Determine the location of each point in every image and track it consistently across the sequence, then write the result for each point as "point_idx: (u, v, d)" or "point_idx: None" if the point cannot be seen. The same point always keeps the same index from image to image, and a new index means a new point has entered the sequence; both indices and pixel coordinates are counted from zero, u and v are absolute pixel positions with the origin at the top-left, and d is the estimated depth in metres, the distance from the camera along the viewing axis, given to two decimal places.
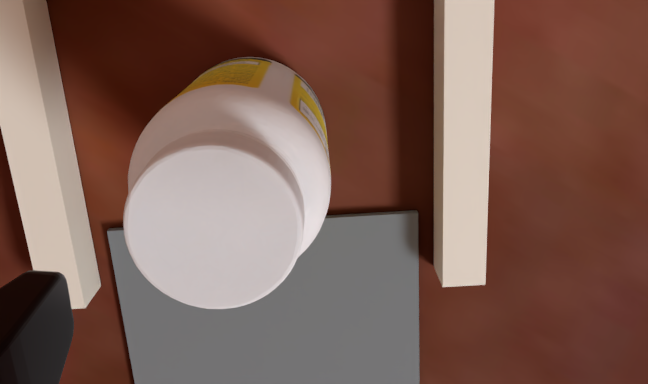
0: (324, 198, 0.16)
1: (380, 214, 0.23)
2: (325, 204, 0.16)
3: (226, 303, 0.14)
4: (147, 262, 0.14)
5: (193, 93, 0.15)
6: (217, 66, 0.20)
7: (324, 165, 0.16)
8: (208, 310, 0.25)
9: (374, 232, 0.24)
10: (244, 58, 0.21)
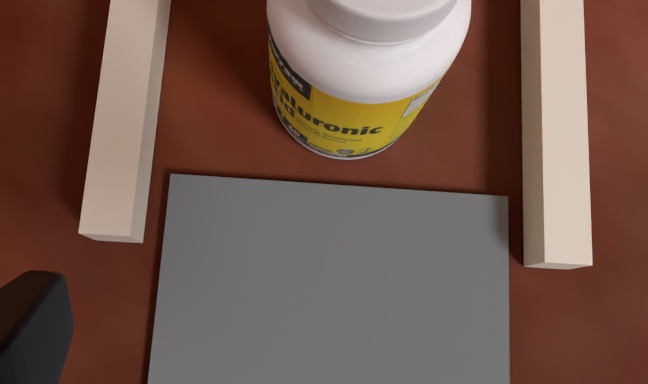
0: (468, 11, 0.16)
1: (468, 194, 0.22)
2: (467, 19, 0.16)
3: (390, 8, 0.13)
4: None
5: None
6: None
7: None
8: (262, 286, 0.21)
9: (460, 213, 0.22)
10: None
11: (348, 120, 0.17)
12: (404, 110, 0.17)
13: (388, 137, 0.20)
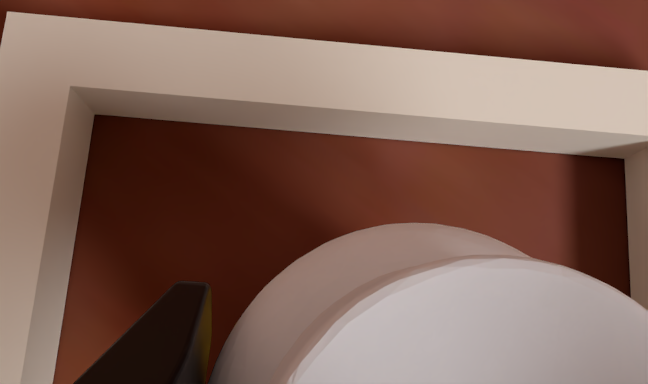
0: None
1: None
2: None
3: None
4: None
5: (381, 226, 0.08)
6: None
7: None
8: None
9: None
10: None
11: None
12: None
13: None
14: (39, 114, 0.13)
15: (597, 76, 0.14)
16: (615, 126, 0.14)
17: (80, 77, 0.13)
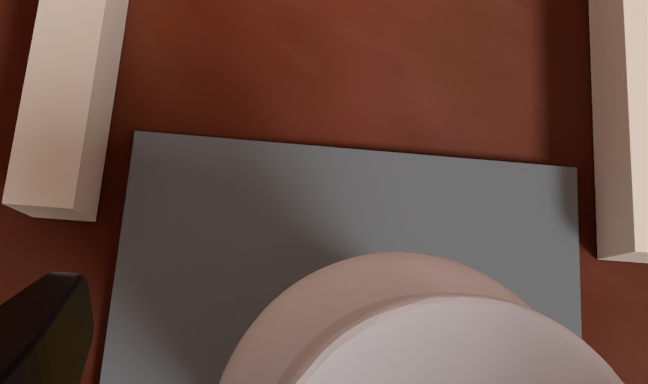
0: None
1: (525, 163, 0.17)
2: None
3: None
4: None
5: (368, 254, 0.09)
6: None
7: None
8: (254, 280, 0.15)
9: (516, 188, 0.16)
10: None
11: None
12: None
13: None
14: None
15: None
16: None
17: None
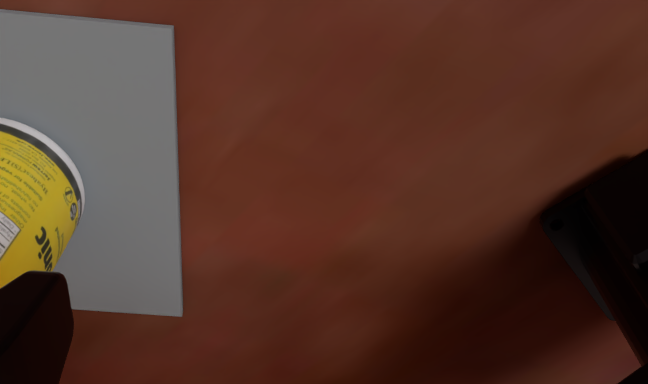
0: None
1: None
2: None
3: None
4: None
5: None
6: None
7: None
8: None
9: None
10: None
11: None
12: (10, 246, 0.17)
13: (47, 191, 0.19)
14: None
15: None
16: None
17: None
